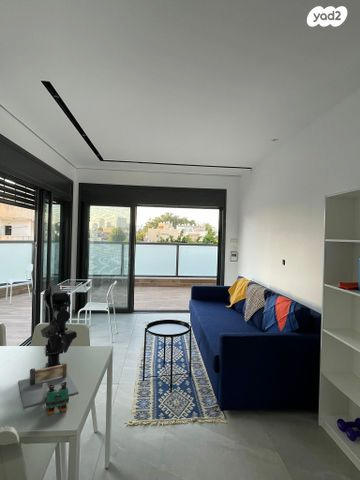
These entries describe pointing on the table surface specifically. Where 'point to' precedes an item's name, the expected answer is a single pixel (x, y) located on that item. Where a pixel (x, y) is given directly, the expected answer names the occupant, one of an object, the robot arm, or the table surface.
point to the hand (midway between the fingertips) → (59, 350)
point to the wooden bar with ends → (48, 373)
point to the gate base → (43, 389)
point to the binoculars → (57, 398)
